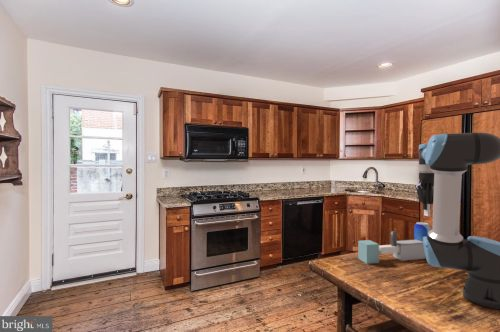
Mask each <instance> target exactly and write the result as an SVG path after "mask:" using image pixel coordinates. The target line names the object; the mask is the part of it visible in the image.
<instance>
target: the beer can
mask: <svg viewBox="0 0 500 332" xmlns="http://www.w3.org/2000/svg"><path fill="white" fill-rule="evenodd" d="M413 229H414V230H413V235H414V237H413V238H414V239H413V240H415V239H416V240H419V241H422V242H423V237H425V236H427V237H428V232H429V231H430V230H432V228H431V226H430V225H429V223H428V222H424V221H423V222H422V221H417V222H416V223H415V225H414V226H413Z"/></svg>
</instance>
